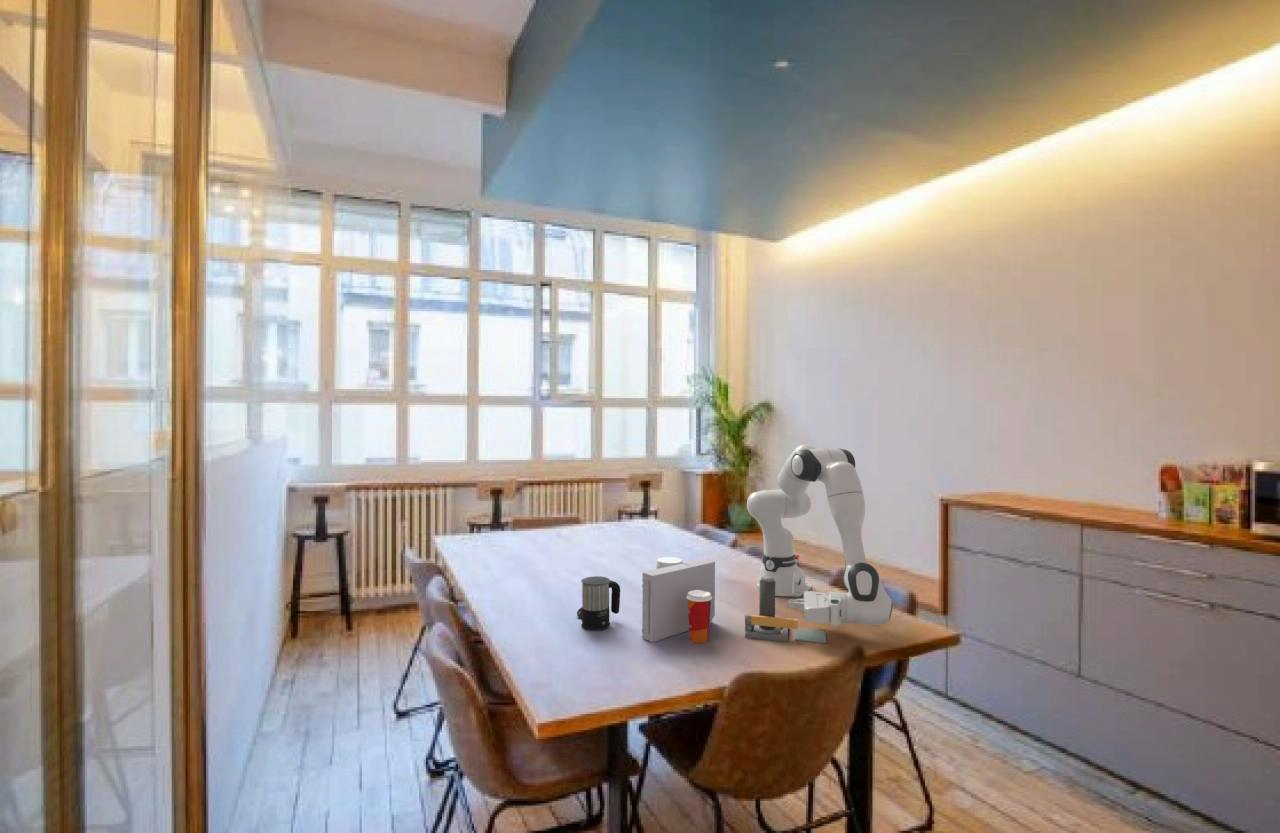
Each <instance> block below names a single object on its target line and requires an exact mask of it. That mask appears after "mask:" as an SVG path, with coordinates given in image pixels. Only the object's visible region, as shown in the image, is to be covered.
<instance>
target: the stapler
mask: <svg viewBox="0 0 1280 833" xmlns="http://www.w3.org/2000/svg"><path fill="white" fill-rule="evenodd" d="M798 620H799V619H798V618H795V617H794V618H791V617H790V618H789V617H779V616H775V617H769V616H759V614H758V615H756V614H750V613H747V614H744V625H745V624H746V625H760V626H771V627H781V628H780V629H783V628H788V629H791V630H795V629H799V628H798V627H799V626H798V625H799V621H798Z"/></svg>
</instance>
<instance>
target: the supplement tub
mask: <svg viewBox="0 0 1280 833" xmlns="http://www.w3.org/2000/svg"><path fill="white" fill-rule="evenodd" d="M682 563H683V559H681V558H679V557H673V556H663V557H658V558H657V560H656V568H655V569H659V568H664V567H668V566H673V565H678V564H682Z"/></svg>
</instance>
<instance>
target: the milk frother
mask: <svg viewBox="0 0 1280 833" xmlns="http://www.w3.org/2000/svg"><path fill="white" fill-rule="evenodd" d="M581 584H582V586H581V587H582V589H581V591H582V594H581V595H582V597H581V598H582V600H581V601H582V602H581V603H582V604H581V605H582V606H581V607H580V608H579V609H578V610H577V612H576V615H577V617H578V618H580V619H581V620H582V621H581V625H580V626H581V628H582V629H584V630H586V631H594V632H595V631H596V632H597V631H603V630H607V629H608V628H609V627H610V626H611V623H610V622H611V621H610V611H611V612H612V613H613V614H615V615H616V614H619V612H620V607H621V606H620V602H621V586H620V584H619V583H618V582H616V581H614V580H611V579H610V578H608V577H606V576H597V575H595V576H587V577H585V578H582V579H581ZM610 589H611V598H610ZM610 599H611V600H610ZM610 601H611V602H610ZM610 603H611V604H610Z"/></svg>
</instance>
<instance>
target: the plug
mask: <svg viewBox="0 0 1280 833" xmlns="http://www.w3.org/2000/svg"><path fill="white" fill-rule="evenodd" d="M758 603H759V604H758V605H759V609H758V610H759V613H758V616H769V617H776V596H775V581H774V578H773V577H770V576H762V577H761V580H760V590H759V602H758ZM753 632H759V633H769V634H780V635H781V628H780V627H771V626H760V625H754V626H753Z"/></svg>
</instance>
